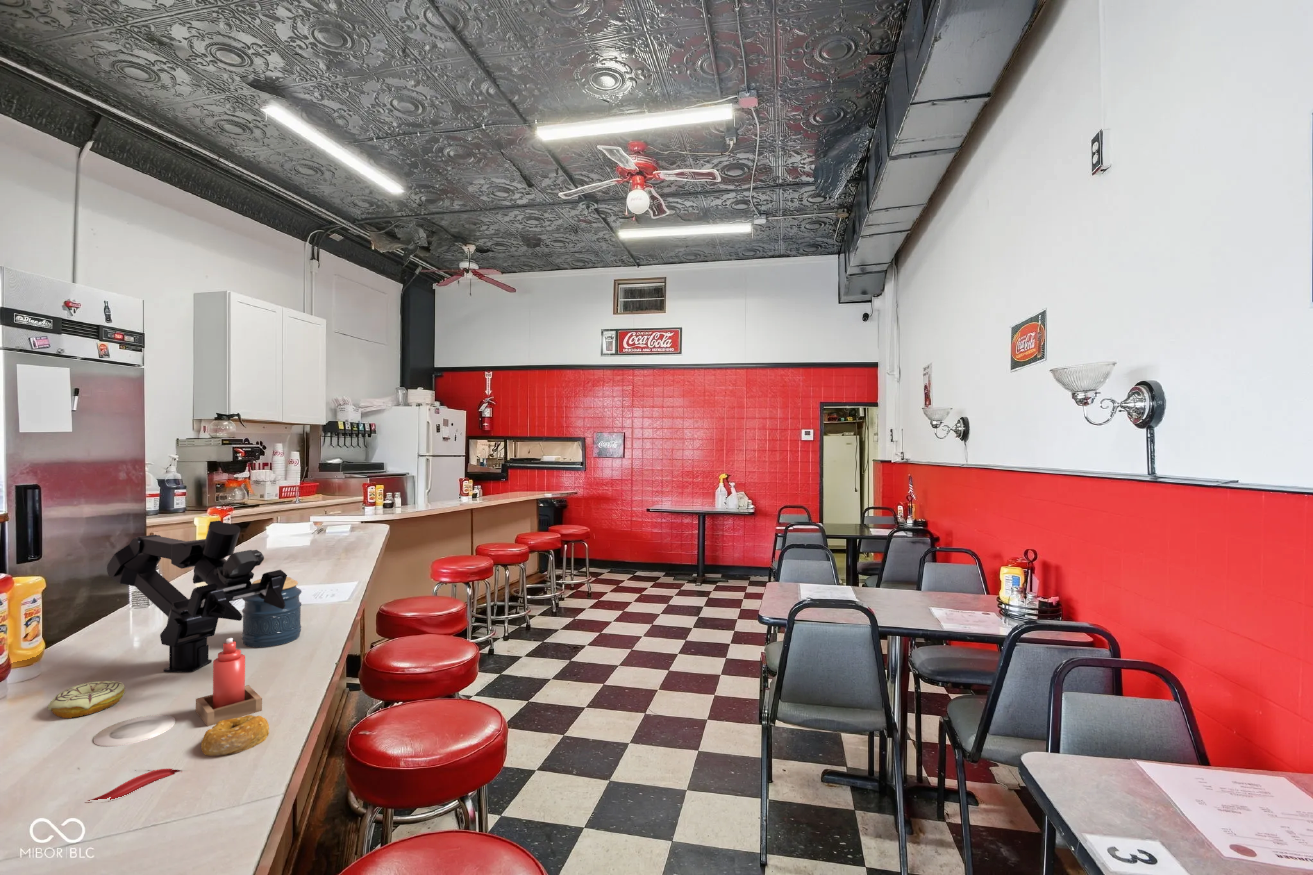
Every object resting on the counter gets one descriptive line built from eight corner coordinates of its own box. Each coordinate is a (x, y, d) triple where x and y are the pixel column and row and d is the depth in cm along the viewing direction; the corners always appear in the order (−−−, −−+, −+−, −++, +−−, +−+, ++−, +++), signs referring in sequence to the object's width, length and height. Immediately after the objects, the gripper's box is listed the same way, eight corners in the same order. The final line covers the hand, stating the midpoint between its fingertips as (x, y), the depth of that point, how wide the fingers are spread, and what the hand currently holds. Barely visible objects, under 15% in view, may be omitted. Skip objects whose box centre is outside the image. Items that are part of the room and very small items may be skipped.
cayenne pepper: (80, 812, 87) (80, 799, 87) (82, 797, 91) (82, 784, 91) (186, 782, 95) (186, 770, 95) (184, 769, 98) (184, 757, 98)
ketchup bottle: (206, 716, 114) (206, 643, 114) (225, 704, 119) (225, 634, 119) (232, 717, 114) (233, 643, 114) (250, 705, 119) (251, 634, 119)
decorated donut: (32, 721, 113) (32, 701, 113) (83, 696, 124) (83, 677, 124) (92, 720, 114) (92, 699, 114) (137, 695, 124) (137, 676, 124)
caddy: (195, 714, 116) (195, 698, 116) (248, 699, 123) (248, 685, 123) (207, 729, 111) (207, 712, 110) (261, 713, 117) (262, 697, 117)
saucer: (75, 748, 103) (75, 744, 103) (131, 718, 114) (131, 714, 114) (139, 750, 103) (139, 745, 103) (190, 719, 114) (190, 715, 114)
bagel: (276, 725, 113) (276, 699, 113) (262, 756, 102) (261, 728, 102) (211, 735, 109) (211, 708, 109) (190, 768, 99) (190, 739, 99)
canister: (306, 629, 166) (306, 564, 166) (294, 645, 154) (295, 575, 153) (250, 633, 162) (251, 567, 162) (234, 650, 150) (234, 578, 149)
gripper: (183, 550, 124) (228, 589, 119) (272, 536, 141) (314, 570, 136) (169, 597, 126) (212, 638, 121) (258, 578, 143) (300, 613, 138)
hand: (263, 612), depth 129 cm, fingers open, 9 cm apart
